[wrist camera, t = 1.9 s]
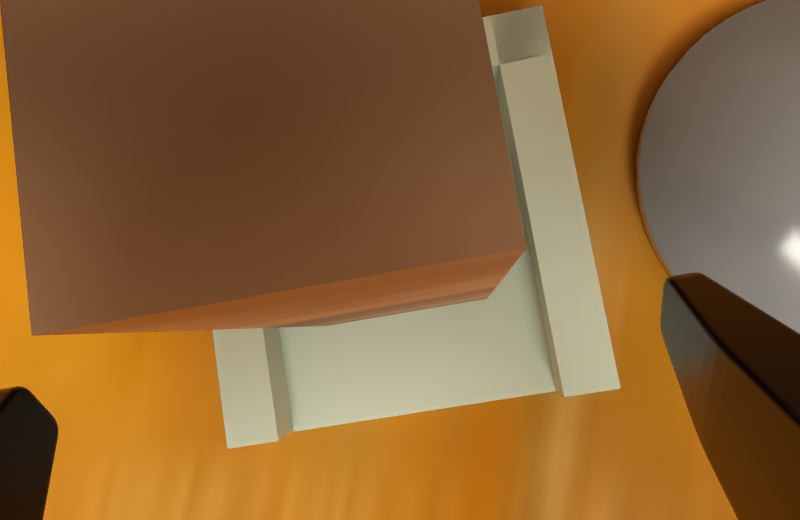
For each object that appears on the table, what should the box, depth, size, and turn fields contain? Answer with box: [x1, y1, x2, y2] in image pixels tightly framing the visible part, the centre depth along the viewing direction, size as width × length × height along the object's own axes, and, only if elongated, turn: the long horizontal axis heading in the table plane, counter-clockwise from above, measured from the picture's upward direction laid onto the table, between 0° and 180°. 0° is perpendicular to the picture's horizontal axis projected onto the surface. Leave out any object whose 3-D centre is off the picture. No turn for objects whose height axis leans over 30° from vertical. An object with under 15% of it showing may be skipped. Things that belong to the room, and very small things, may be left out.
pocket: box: [212, 5, 621, 449], centre depth 19 cm, size 11×11×2 cm
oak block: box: [0, 0, 527, 335], centre depth 13 cm, size 5×5×13 cm
